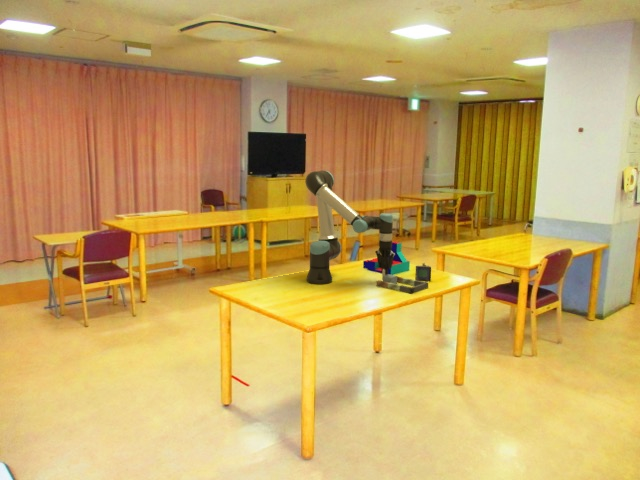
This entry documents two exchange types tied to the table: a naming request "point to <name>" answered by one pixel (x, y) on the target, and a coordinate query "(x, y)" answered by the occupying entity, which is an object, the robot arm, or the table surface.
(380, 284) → the channel rails
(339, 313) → the table surface
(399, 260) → the building blocks toy
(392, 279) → the block
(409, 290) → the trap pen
